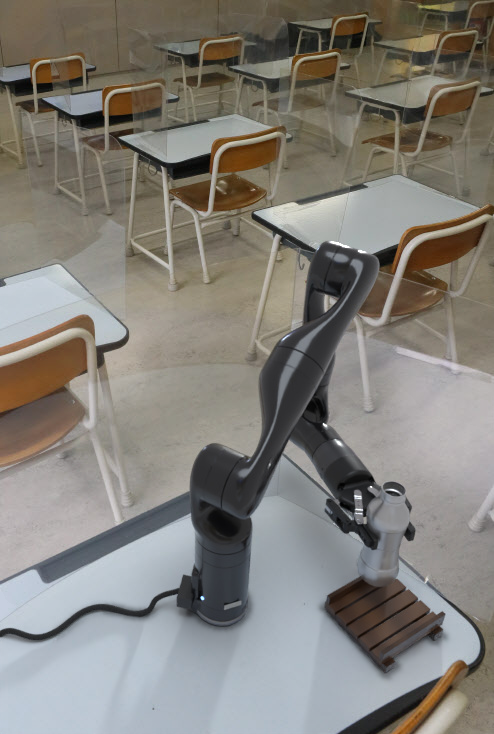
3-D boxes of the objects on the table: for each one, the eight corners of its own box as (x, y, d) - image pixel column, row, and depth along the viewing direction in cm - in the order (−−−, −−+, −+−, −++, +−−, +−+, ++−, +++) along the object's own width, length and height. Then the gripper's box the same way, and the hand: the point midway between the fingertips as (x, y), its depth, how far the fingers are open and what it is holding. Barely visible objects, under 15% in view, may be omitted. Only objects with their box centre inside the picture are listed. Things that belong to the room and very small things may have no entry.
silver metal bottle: (398, 595, 112) (420, 507, 102) (355, 589, 113) (372, 501, 103) (394, 564, 117) (414, 477, 107) (353, 558, 119) (370, 471, 108)
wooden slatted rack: (382, 674, 107) (386, 657, 105) (321, 608, 118) (324, 592, 116) (444, 633, 113) (449, 616, 111) (380, 574, 124) (384, 558, 122)
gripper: (306, 462, 118) (356, 535, 104) (381, 446, 121) (438, 515, 107) (302, 494, 122) (350, 568, 108) (374, 478, 125) (429, 548, 111)
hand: (394, 541), depth 108 cm, fingers closed on silver metal bottle, 6 cm apart
